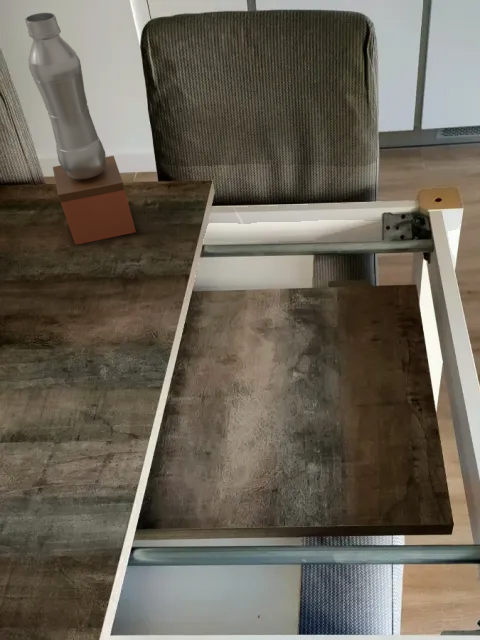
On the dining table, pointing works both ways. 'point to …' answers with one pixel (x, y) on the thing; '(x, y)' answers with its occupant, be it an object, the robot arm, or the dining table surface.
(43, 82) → the plastic bottle
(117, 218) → the step stand
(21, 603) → the dining table surface
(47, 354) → the dining table surface
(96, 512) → the dining table surface
